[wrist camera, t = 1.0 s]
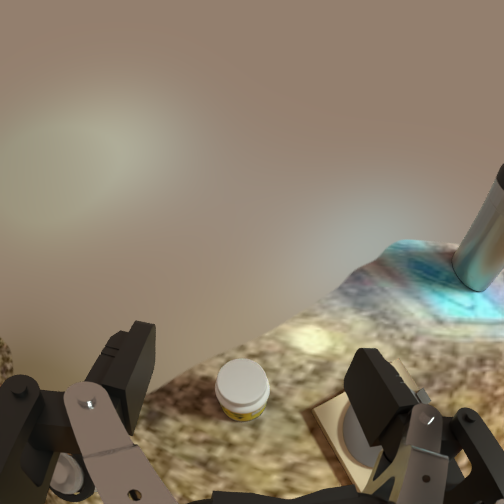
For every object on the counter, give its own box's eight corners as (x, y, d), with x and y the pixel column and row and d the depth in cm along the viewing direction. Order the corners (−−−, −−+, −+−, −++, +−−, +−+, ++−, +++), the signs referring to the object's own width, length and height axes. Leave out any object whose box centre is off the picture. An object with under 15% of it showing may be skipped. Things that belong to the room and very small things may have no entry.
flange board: (394, 361, 29) (401, 355, 28) (440, 435, 22) (449, 431, 20) (311, 410, 26) (315, 407, 25) (360, 496, 19) (367, 498, 17)
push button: (146, 502, 18) (103, 512, 11) (106, 511, 16) (54, 518, 9) (120, 449, 22) (70, 436, 15) (83, 460, 20) (27, 447, 13)
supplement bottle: (211, 401, 27) (198, 379, 21) (242, 373, 29) (240, 342, 23) (244, 431, 25) (242, 420, 18) (275, 400, 27) (284, 378, 21)
